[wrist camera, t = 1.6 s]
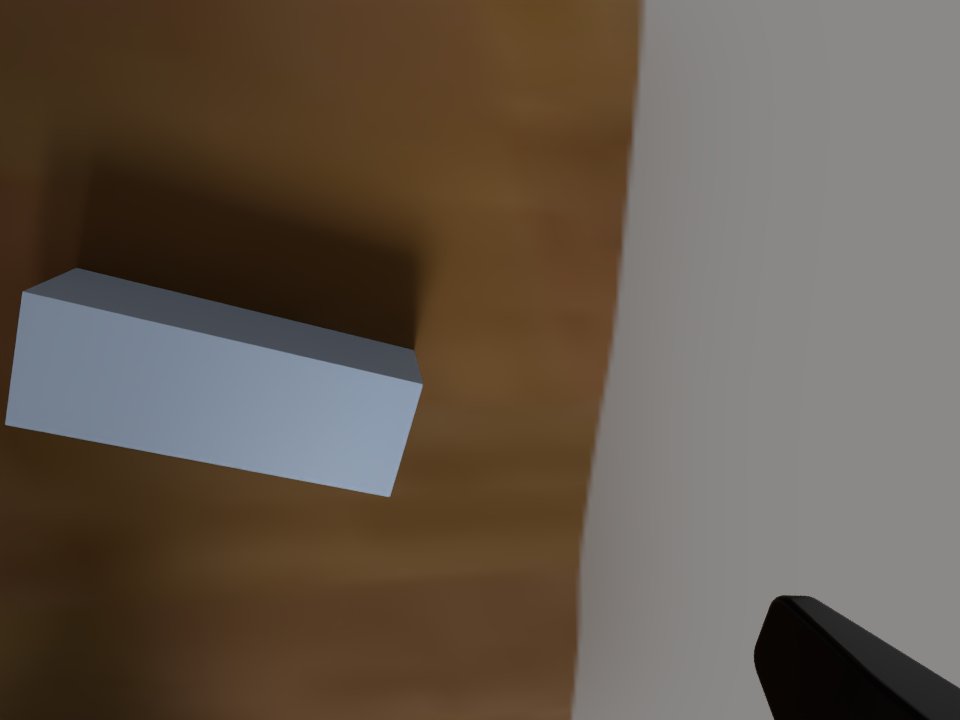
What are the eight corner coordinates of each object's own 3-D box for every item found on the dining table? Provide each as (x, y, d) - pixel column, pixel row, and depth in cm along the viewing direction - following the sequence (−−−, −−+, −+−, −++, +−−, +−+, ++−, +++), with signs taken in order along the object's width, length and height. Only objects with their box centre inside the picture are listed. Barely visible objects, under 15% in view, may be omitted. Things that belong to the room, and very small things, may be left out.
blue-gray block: (413, 347, 20) (423, 384, 17) (385, 445, 21) (389, 497, 18) (80, 266, 18) (22, 291, 15) (63, 378, 18) (5, 424, 15)
